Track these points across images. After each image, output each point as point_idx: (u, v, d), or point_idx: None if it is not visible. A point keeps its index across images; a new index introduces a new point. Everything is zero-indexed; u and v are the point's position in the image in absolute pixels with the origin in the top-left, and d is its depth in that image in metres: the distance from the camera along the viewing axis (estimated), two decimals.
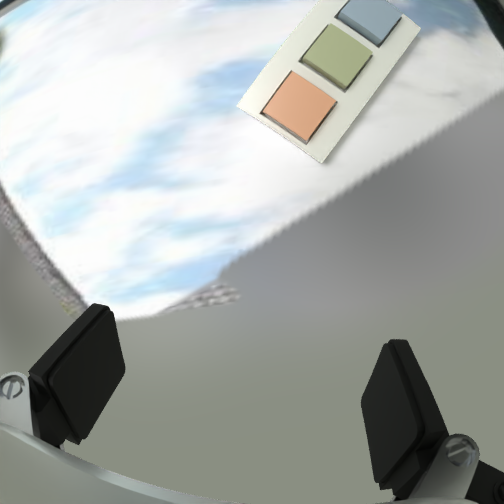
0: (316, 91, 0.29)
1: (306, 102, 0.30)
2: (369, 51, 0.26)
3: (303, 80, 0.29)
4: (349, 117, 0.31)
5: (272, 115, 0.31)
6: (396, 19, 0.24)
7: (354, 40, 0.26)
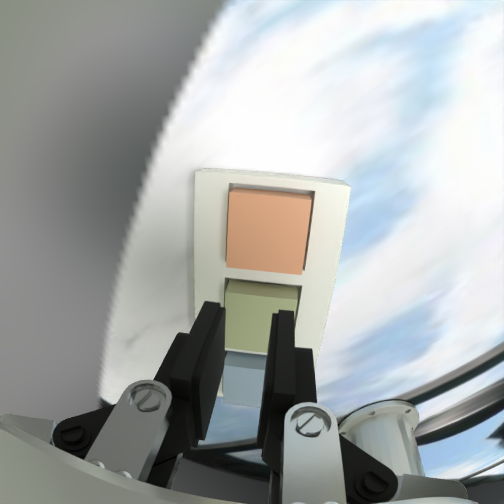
0: (256, 265, 0.23)
1: (260, 243, 0.22)
2: (227, 346, 0.26)
3: (281, 270, 0.23)
4: (200, 251, 0.25)
5: (295, 200, 0.21)
6: (224, 393, 0.29)
7: (251, 349, 0.26)
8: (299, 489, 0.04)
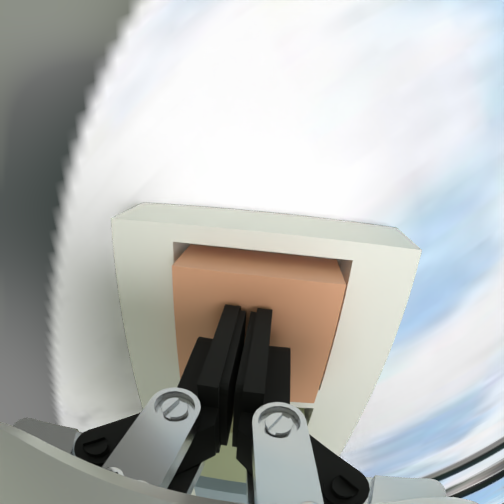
0: None
1: None
2: None
3: None
4: (138, 352, 0.13)
5: (310, 286, 0.10)
6: None
7: (230, 479, 0.14)
8: (261, 489, 0.04)
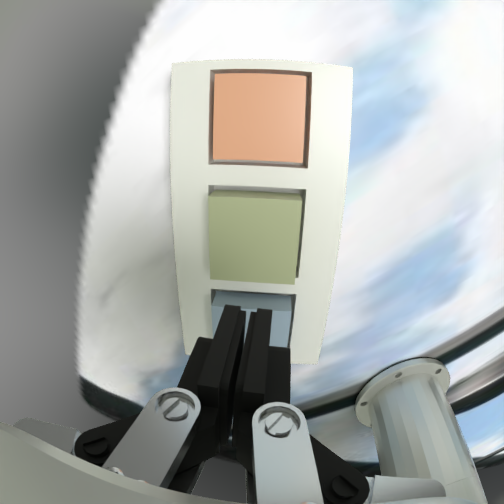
0: (248, 153, 0.19)
1: (251, 126, 0.18)
2: (215, 276, 0.21)
3: (277, 157, 0.19)
4: (178, 153, 0.19)
5: (287, 77, 0.17)
6: None
7: (245, 279, 0.21)
8: (261, 489, 0.04)
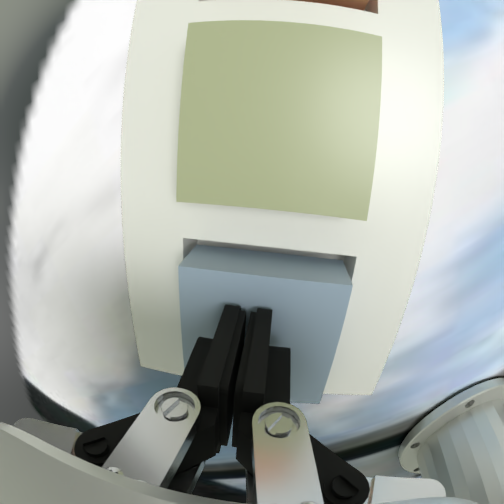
0: None
1: None
2: (187, 195, 0.09)
3: None
4: None
5: None
6: (187, 360, 0.11)
7: (255, 201, 0.09)
8: (261, 489, 0.04)
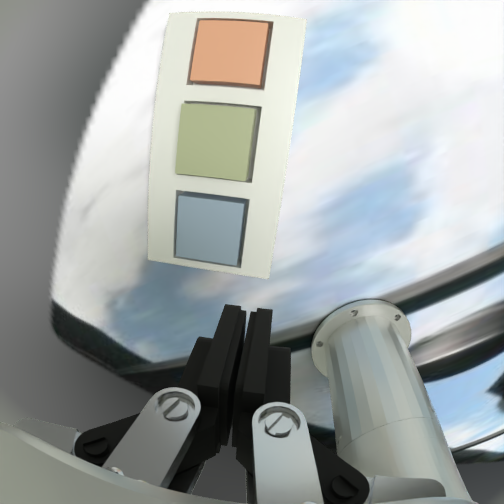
0: (217, 76, 0.21)
1: (222, 57, 0.21)
2: (179, 171, 0.23)
3: (240, 80, 0.21)
4: (164, 76, 0.22)
5: (253, 23, 0.19)
6: (178, 240, 0.27)
7: (204, 173, 0.23)
8: (261, 489, 0.04)
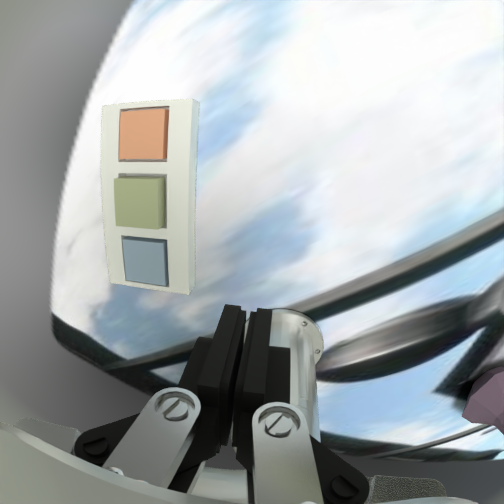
0: (135, 155, 0.32)
1: (137, 140, 0.31)
2: (118, 224, 0.34)
3: (150, 156, 0.32)
4: (104, 156, 0.33)
5: (155, 110, 0.30)
6: (126, 269, 0.38)
7: (132, 225, 0.34)
8: (261, 489, 0.04)
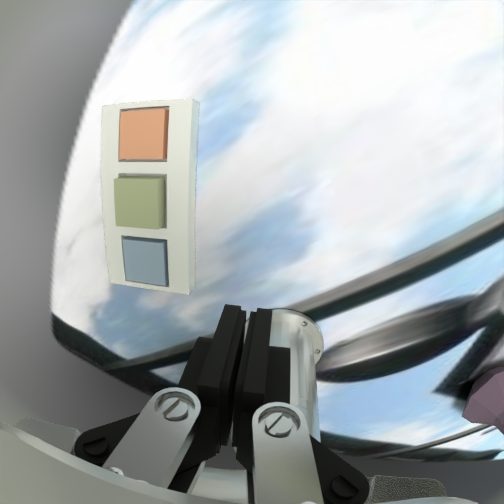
0: (135, 155, 0.32)
1: (137, 140, 0.31)
2: (118, 224, 0.34)
3: (150, 156, 0.32)
4: (104, 156, 0.33)
5: (155, 110, 0.30)
6: (126, 269, 0.38)
7: (132, 225, 0.34)
8: (261, 489, 0.04)
